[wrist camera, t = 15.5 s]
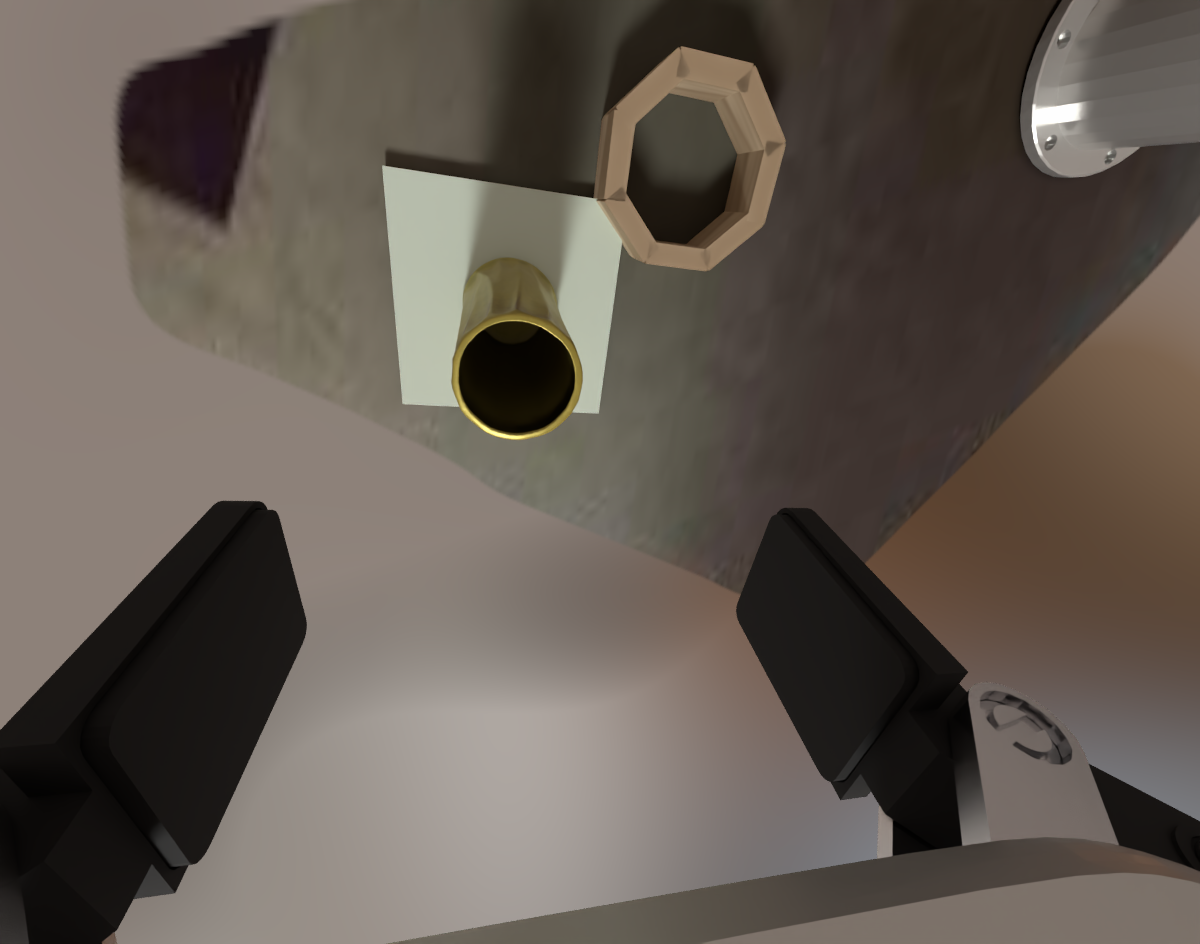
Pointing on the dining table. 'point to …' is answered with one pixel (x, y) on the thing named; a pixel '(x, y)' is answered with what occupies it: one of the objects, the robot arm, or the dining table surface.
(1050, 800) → the robot arm
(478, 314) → the vase
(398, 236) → the mat
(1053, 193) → the dining table surface
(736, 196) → the ring
